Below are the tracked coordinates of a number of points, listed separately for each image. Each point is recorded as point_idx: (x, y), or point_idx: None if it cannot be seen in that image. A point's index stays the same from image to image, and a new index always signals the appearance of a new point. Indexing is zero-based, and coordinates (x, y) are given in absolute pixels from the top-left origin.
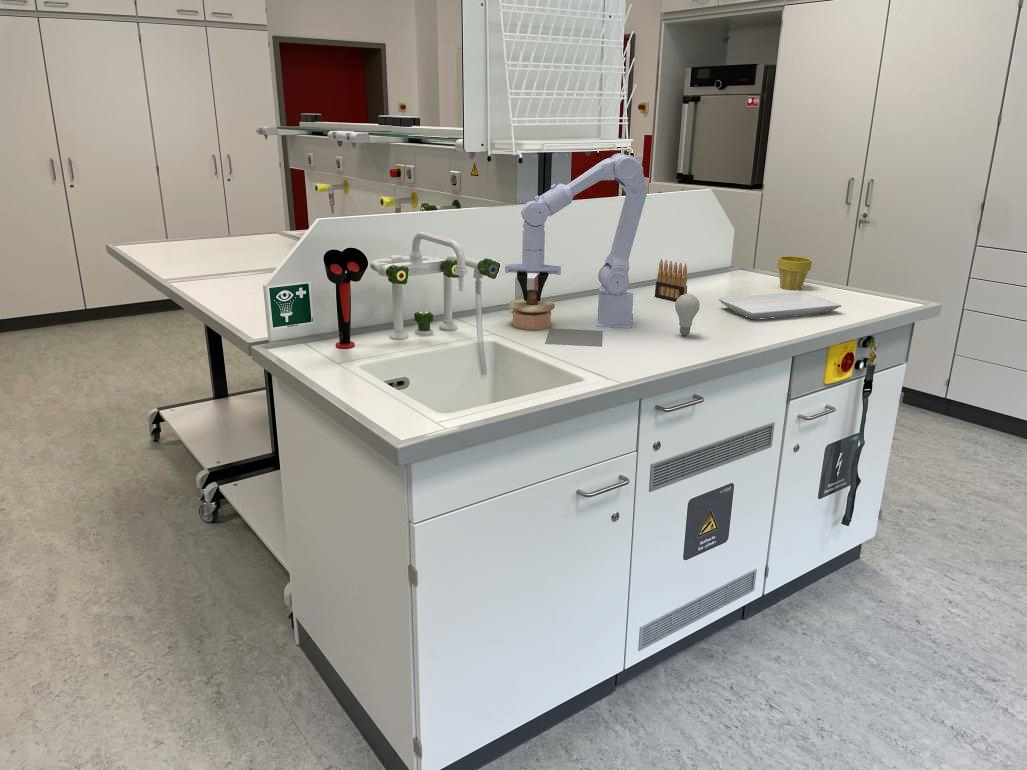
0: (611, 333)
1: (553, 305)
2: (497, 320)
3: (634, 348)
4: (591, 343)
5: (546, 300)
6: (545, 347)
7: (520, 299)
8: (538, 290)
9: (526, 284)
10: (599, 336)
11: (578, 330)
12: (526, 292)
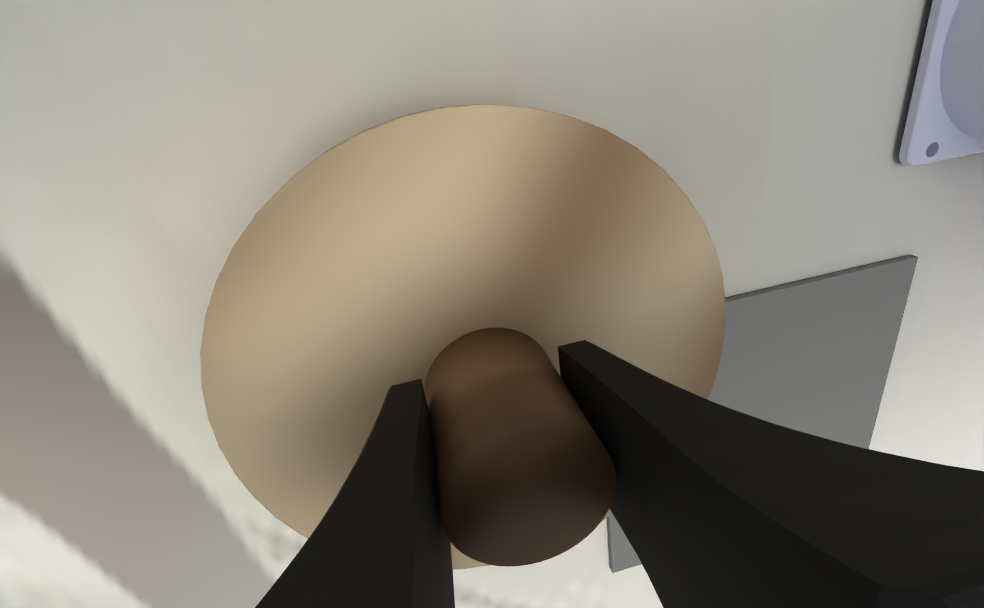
0: (949, 265)
1: (714, 360)
2: (99, 243)
3: (975, 447)
4: None
5: (626, 169)
6: (616, 589)
7: (268, 243)
8: (644, 553)
9: (437, 597)
10: (874, 370)
11: (779, 308)
12: (439, 507)
